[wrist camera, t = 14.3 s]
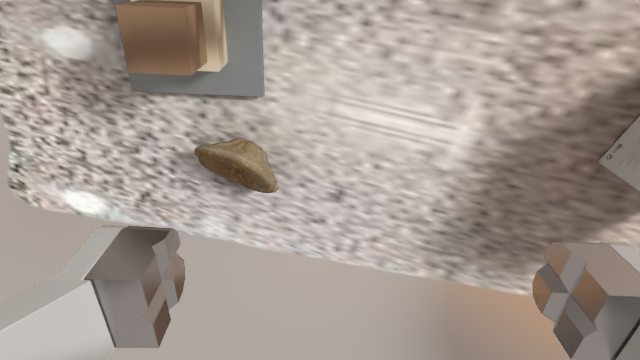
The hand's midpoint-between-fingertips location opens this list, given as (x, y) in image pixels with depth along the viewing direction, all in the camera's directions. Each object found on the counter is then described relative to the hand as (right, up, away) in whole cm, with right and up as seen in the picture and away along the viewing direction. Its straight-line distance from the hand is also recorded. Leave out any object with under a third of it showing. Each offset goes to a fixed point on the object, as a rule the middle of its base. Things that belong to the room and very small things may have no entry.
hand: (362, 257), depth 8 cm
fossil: (-10, +5, +37) cm, 39 cm away
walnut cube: (-14, +15, +25) cm, 32 cm away
